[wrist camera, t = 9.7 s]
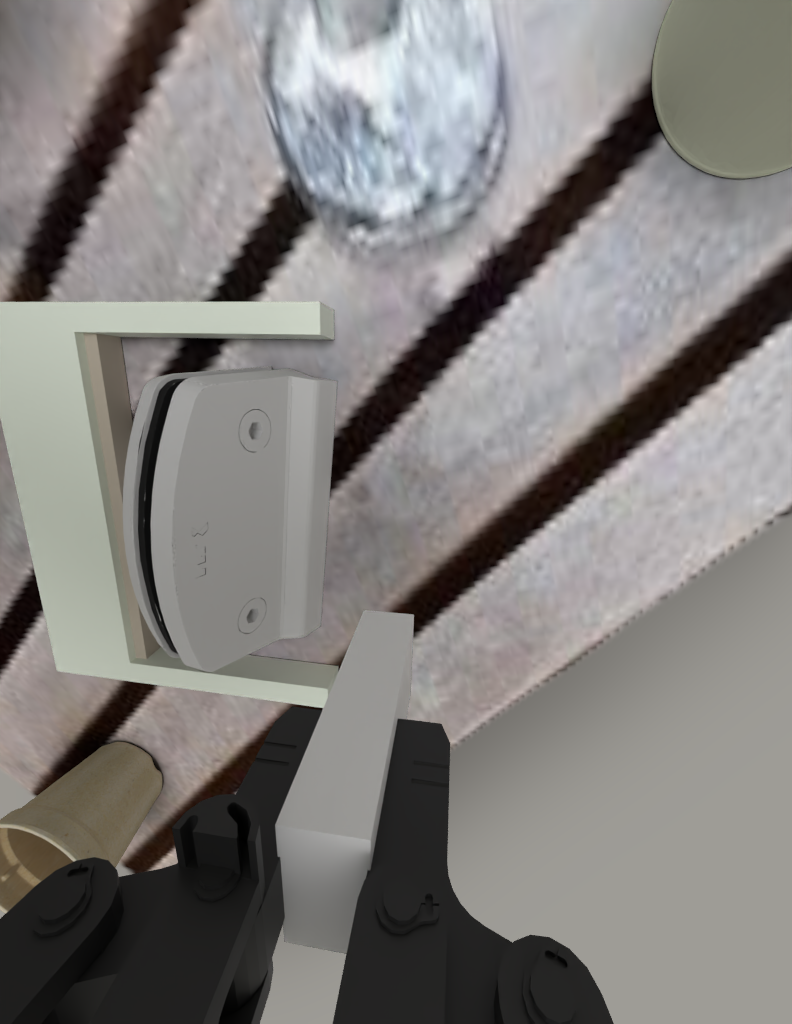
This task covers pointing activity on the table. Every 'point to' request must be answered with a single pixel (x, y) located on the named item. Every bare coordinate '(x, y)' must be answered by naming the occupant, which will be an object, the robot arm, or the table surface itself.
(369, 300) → the table surface
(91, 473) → the beige flat angled piece
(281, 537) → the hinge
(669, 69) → the can
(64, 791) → the flower pot
